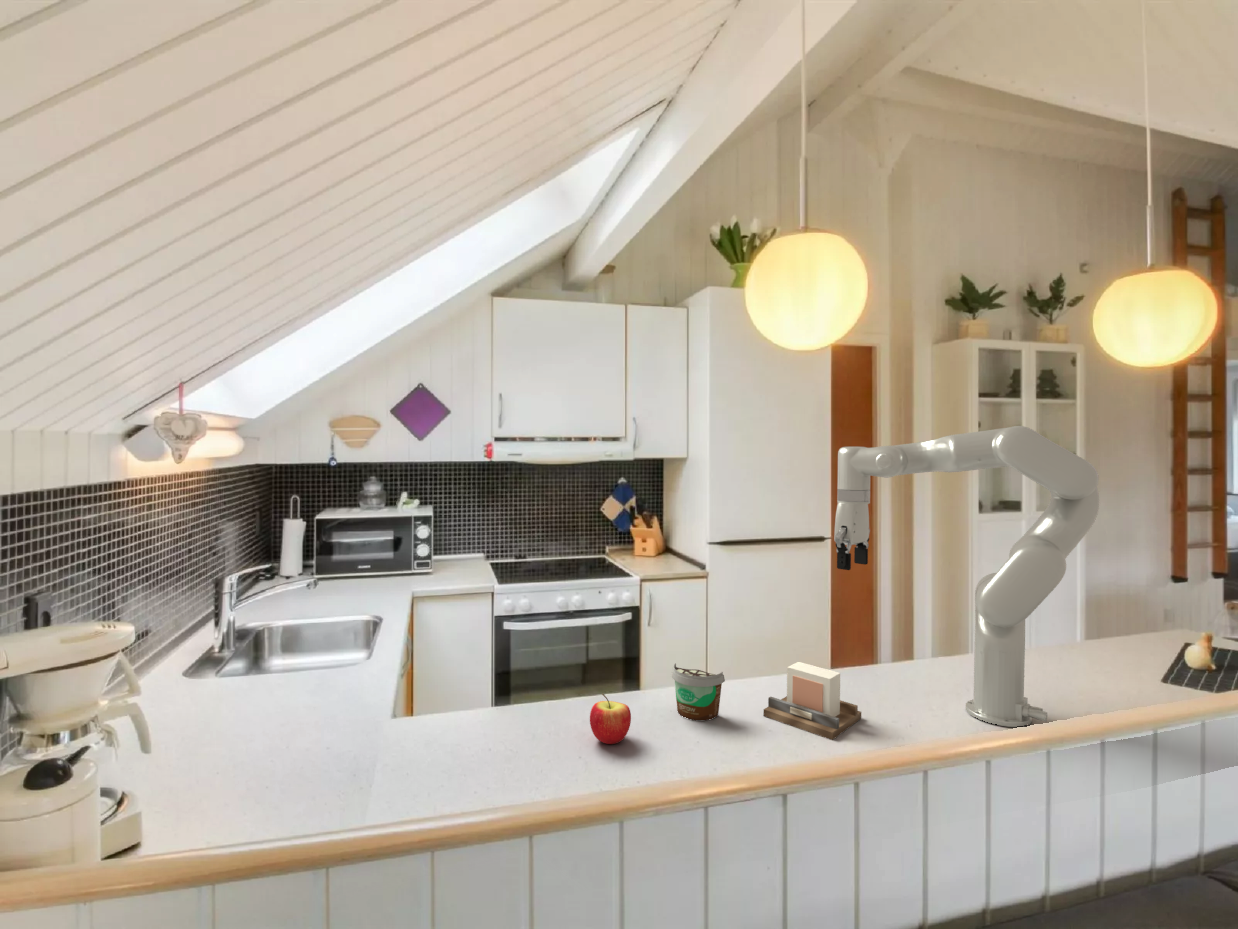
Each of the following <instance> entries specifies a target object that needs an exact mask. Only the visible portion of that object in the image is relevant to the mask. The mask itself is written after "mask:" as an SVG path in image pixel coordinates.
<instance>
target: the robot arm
mask: <svg viewBox="0 0 1238 929" xmlns="http://www.w3.org/2000/svg"><path fill="white" fill-rule="evenodd" d="M1007 467H1010V468H1012V469H1014V470H1015V471H1017V472H1018V473H1020V474H1022V475H1023V476H1025V477H1027V478H1028V479H1030V480H1032V481H1033V482H1035V483H1036V484H1038V485H1040V486H1041V487H1043V488H1045V489H1047V490H1048V491H1049V492H1050V499H1049V503H1048V505H1047V507H1046V508H1045V510H1044V511H1043V512H1042V513H1041V515H1040V516H1039V517H1038V519H1037V520H1036V521H1035V522H1034V523H1033V524H1032V525H1031V527H1030V528H1029V529H1028V530H1027V531H1026V532H1025V533H1024V534H1023V535H1022V537H1020V538H1019V539H1018V540H1017V541H1016V542H1015V543H1014V544H1013V545H1012V547H1011V548H1010V551H1009V554H1008V559H1007V560H1006V561H1005V562H1004V563H1003V565H1002V566H1001V567H1000V568H999V569H998V570H997V572H992V573H988V574H986V575H985V576H984V577H982V578H981V579H980V580H979V581H978V583H977V585H976V587H975V591H974V603H975V604H974V607H975V608H974V609H975V610H974V611H975V612H974V613H975V615H974V618H975V620H974V621H975V622H974V623H975V624H974V658H973V659H974V660H973V661H974V663H973V667H974V668H973V699H970V700H968V701H966V703H965V712H967V714H968V715H970V716H971V717H973V718H975V717H976V719H977V718H978V719H977V720H980V721H982V720H983V721H982V722H984V721H985V723H987V722H988V724H991V723H992V724H991V725H995V724H997V725H996V726H1000V727H1008V728H1018V727H1017V726H1023V727H1025V726H1024V725H1027V724H1029V725H1031V724H1032V721H1033V719H1035V720H1038V721H1042V722H1046V723H1047V722H1048V721H1047V720H1048V712H1047V711H1044V708H1043V707H1042V708H1041V707H1038V706H1032V705H1031V704H1030V703H1028V702H1029V701H1028V700H1029V699H1028V697H1025V666H1026V665H1025V660H1026V653H1025V652H1026V619H1027V618H1029V616H1030V615H1031V614H1032V613H1033V612H1034V611H1035V610H1036V609H1037V608H1038V607H1039V606H1040V605H1041V603H1043V602H1044V601H1045V600H1046V598H1047V597H1048V596H1050V594H1052V592H1053V591H1054V590H1055V588H1056V587H1058V586H1059V584H1060V582H1061V581H1062V580H1063V578H1064V576H1065V574H1066V570H1067V562H1066V560H1067V558H1068V556H1069V555H1070V554H1071V553H1072V551H1073V550H1074V549H1075V548H1076V547H1077V546H1078V544H1079V543H1080V542H1081V541H1082V540H1083V539H1084V537H1086V535H1087V534H1088V532H1089V531H1090V529H1092V527H1093V525H1094V523H1095V522H1096V519H1097V517H1098V514H1099V509H1100V495H1099V489H1098V485H1099V482H1100V479H1099V478H1100V477H1099V473H1098V471H1097V469H1096V468H1095V466H1094V465H1093V464H1092V463H1091V462H1089V461H1088V460H1087V459H1085V458H1083V457H1081V456H1080V455H1078V454H1076V453H1074V452H1071V451H1070V450H1068V449H1067V448H1065V447H1064V446H1061V445H1060V444H1057V443H1056V442H1054V441H1052V440H1050V439H1049V438H1047V437H1046V436H1044V435H1042V434H1040V433H1039V432H1038V431H1036V430H1034V429H1032V428H1030V427H1027V426H1024V425H1014V426H1013V425H1012V426H1009V427H1001V428H995V429H989V430H979V431H972V432H964V433H956V434H949V435H946V436H941V437H939V438H935V439H931V440H926V441H919V442H911V443H903V444H896V445H895V444H894V445H880V446H875V447H866V446H842V447H840V448H839V449H838V451H837V493H836V494H837V496H836V497H837V498H836V499H837V500H836V501H837V502H836V503H837V505H836V511H835V520H834V535H833V536H834V538H833V539H834V542H835V547H836V549H835V550H836V569H839V570H846V571H850V570H851V568H852V567H851V566H852V553H850V551H851V549H852V546H853V545H854V546H855V547H854V551H853V552H854V560H853V561H854V564H857V565H858V564H859V565H864V566H865V565H866V566H867V565H868V563H869V546H870V545H869V541H870V532H871V529H870V515H869V514H870V513H869V511H870V510H869V504H871V476H872V477H879V478H893V477H897V476H903V475H912V474H913V475H914V474H921V473H931V472H933V473H934V472H936V473H937V472H938V473H939V472H942V473H960V472H969V471H977V470H987V469H988V470H989V469H999V468H1007ZM1027 726H1028V725H1027Z"/></svg>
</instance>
